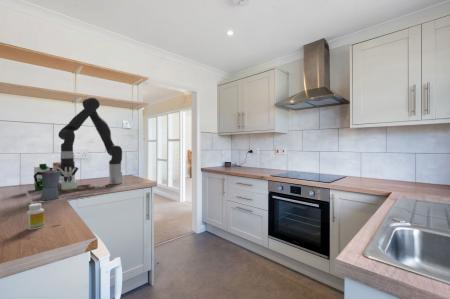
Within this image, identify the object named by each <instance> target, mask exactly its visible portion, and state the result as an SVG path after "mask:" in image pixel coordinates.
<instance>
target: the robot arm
mask: <svg viewBox="0 0 450 299" xmlns="http://www.w3.org/2000/svg"><path fill="white" fill-rule="evenodd" d="M100 104H101V103H100V101H99V100H98V99H97V98H96V97H95V98H94V97H90V98H86V99H83V101H82V107H83V109H81V111H80V112H78V113H77V114H76V115H75V116H73V118H72V119H70V121H69V122H68V124H66V125H65V126H64V127H63V128H61V129H60V131H59V132H58V137H59V139H61V140H63V142H62V143H61V144H60V162H61V166H60V168H58V169H56V170H57V171H61V169H62V170H63V171H64V175H63V174H62V173H61V176H64V181H65V182H67V177H66V174H67V172H69V177H70V181H71V180H72V176H73V175H75V176H76V173H77V172H78V171H79V167H76V165H75V166H74V162H75V160H74V159H75V158H74V157H75V156H74V143H75V138H76V134H75V132H76V131H78V130H79V129H80V128H81V127H82V125H83V124H84V123H85V122H86V120H88V118H90V119H91V122H92V123H93V126H94V127H95V129H96V131H97V133H98V135H99V137H100V139H101V141H102V143H103V145H104V147H105V150H106V152H107V154H108V155H109V156H111V159H110V160H109V161H108V169H109V170H108V172H109V173H108V174H109V175H108V176H109V177H108V178H109V179H108V181H109V184H110V185H119V184H123V172H122V160H123V148H122V147H121V146H120V145H115V144H114V142H113V140H112V135H111V134H112V132H111V128H110V127H109V124H108V123H107V121H106V120H105V119H104V118H102V117H101V116H100V115H99V113H98V111H97V110H98V109H99V107H100ZM73 168H74V172H73V173H72V170H73Z"/></svg>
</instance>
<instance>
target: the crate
mask: <svg viewBox="0 0 450 299" xmlns="http://www.w3.org/2000/svg"><path fill="white" fill-rule="evenodd" d="M66 177H67V182H65V181H61V182H59V190H67V189H75V188H77V185H78V181H76V179H75V180H71V181H70V177H69V176H66Z"/></svg>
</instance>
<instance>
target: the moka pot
mask: <svg viewBox="0 0 450 299" xmlns="http://www.w3.org/2000/svg"><path fill="white" fill-rule="evenodd" d="M61 173H62V172H61V171H54V170H53V167H50V170H49V171H44V172H37V173H36V174H35V175H34V174H33V180H34V179H35V182H36V185H37V187H42V185H41V186H40V185H39V184H38V180H37V177H36V176H37V175H42V181H43V190H41V195H40V200H41V201H53V200H54V201H55V200H58V199H59V198H60V196H59V194H58V187H57V186H58V182H59V177H60V175H61Z"/></svg>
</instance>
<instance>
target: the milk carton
mask: <svg viewBox="0 0 450 299" xmlns="http://www.w3.org/2000/svg"><path fill="white" fill-rule="evenodd" d="M38 165H39V166H33V170H34V171H33V176H34V175H35V174H36V173H37V172H44V171H49V170H50V168H51V166H50V165H47V163H40V164H38ZM36 177H37V180H38V184H39V185H40V186H41V185H42V187H37V185H36V182H35V179H34V178H33V180H34V190H35V191H42V190H43V181H42V175H37V176H36Z"/></svg>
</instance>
